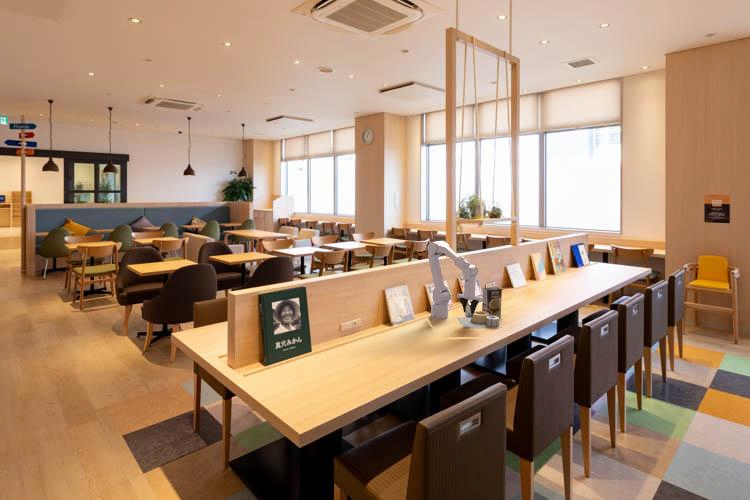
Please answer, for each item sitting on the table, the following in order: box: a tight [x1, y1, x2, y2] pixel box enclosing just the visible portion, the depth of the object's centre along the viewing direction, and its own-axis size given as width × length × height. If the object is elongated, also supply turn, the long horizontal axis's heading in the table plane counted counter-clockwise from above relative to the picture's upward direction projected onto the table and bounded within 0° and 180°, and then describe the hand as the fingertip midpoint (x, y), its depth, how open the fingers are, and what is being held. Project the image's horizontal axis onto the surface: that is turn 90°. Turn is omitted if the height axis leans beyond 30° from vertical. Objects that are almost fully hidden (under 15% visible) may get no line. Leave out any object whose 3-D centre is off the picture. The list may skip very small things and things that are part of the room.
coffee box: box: [481, 286, 503, 318], centre depth 262 cm, size 9×6×16 cm
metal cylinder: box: [464, 302, 473, 318], centre depth 242 cm, size 4×4×7 cm
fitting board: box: [456, 310, 504, 329], centre depth 246 cm, size 20×20×5 cm
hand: (469, 312), depth 242 cm, fingers closed on metal cylinder, 4 cm apart
